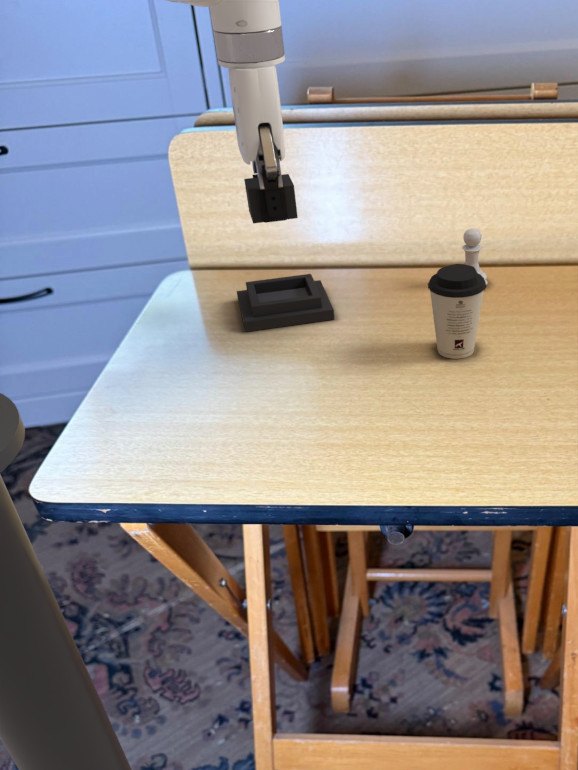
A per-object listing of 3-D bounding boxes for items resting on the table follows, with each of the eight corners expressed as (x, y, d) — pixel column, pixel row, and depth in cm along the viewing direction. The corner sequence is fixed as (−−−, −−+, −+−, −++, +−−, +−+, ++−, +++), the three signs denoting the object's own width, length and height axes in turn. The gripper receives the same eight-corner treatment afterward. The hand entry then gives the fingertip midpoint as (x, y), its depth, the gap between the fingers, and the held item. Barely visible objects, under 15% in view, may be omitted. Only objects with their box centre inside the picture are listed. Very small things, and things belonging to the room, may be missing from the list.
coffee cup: (470, 368, 96) (472, 289, 90) (418, 356, 99) (417, 279, 92) (491, 343, 101) (495, 266, 94) (442, 332, 104) (442, 257, 97)
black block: (253, 223, 99) (248, 190, 96) (249, 211, 102) (244, 178, 99) (297, 218, 99) (293, 185, 97) (292, 206, 103) (288, 173, 100)
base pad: (245, 332, 105) (242, 311, 103) (238, 301, 113) (234, 280, 111) (334, 319, 107) (332, 298, 105) (321, 289, 115) (319, 269, 113)
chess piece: (477, 275, 117) (479, 220, 112) (493, 287, 114) (496, 231, 108) (448, 281, 115) (449, 226, 110) (464, 294, 112) (466, 237, 107)
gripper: (210, 36, 94) (236, 195, 106) (222, 65, 82) (250, 241, 94) (273, 31, 95) (291, 189, 107) (294, 58, 83) (312, 233, 95)
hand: (272, 211), depth 100 cm, fingers closed on black block, 4 cm apart
